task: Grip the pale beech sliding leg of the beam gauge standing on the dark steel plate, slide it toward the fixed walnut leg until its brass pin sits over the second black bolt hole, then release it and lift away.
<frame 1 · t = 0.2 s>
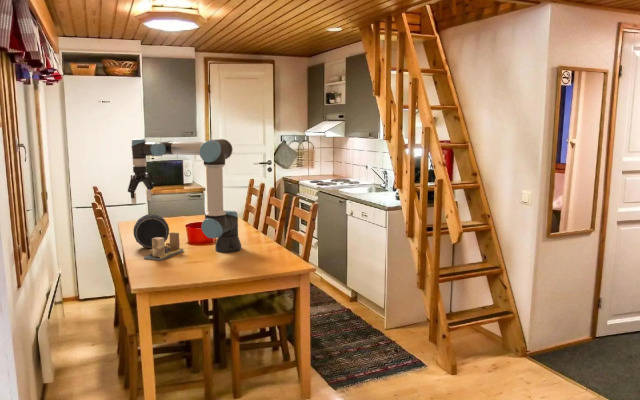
hand: (141, 202, 295), 28 cm above the table, tool pointing down, fingers open, 13 cm apart
sliding leg: (156, 246, 277), point 6 cm above the table, slide at 6.5 cm
gauge: (163, 255, 284), on the table
dark piece: (152, 247, 301), on the table
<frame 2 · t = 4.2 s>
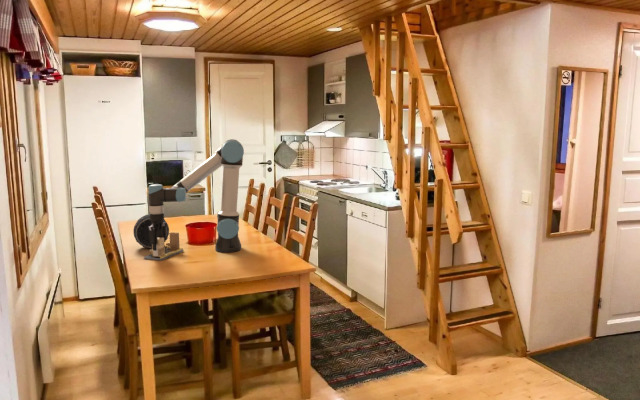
hand: (158, 254, 277), 2 cm above the table, tool pointing down, fingers closed on sliding leg, 4 cm apart
sliding leg: (156, 246, 277), point 6 cm above the table, slide at 6.5 cm, touching gripper
everything else where it was.
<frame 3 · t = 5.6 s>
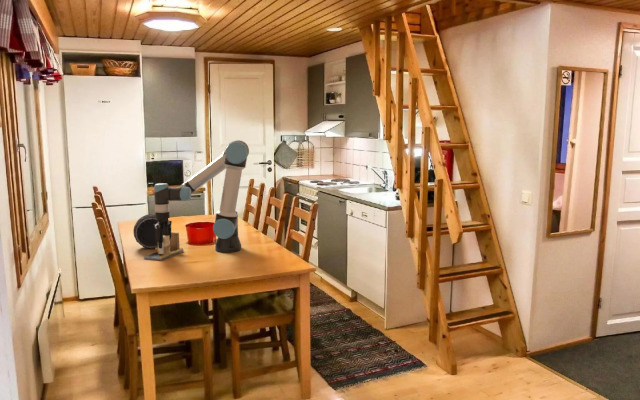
hand: (164, 252, 282), 2 cm above the table, tool pointing down, fingers closed on sliding leg, 4 cm apart
sliding leg: (161, 244, 282), point 6 cm above the table, slide at 1.6 cm, touching gripper
everything else where it was.
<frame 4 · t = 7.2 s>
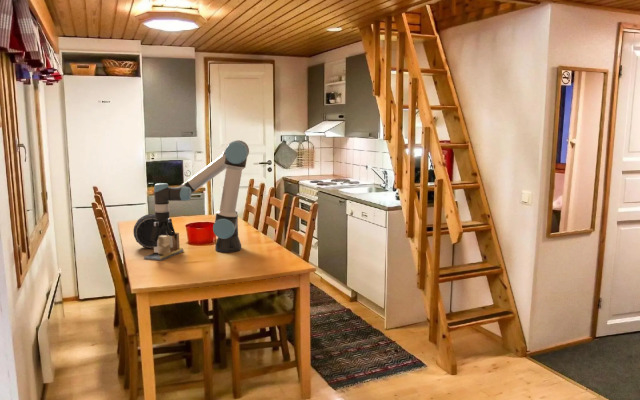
hand: (163, 249, 281), 4 cm above the table, tool pointing down, fingers open, 12 cm apart
sliding leg: (161, 244, 282), point 6 cm above the table, slide at 1.5 cm
everything else where it was.
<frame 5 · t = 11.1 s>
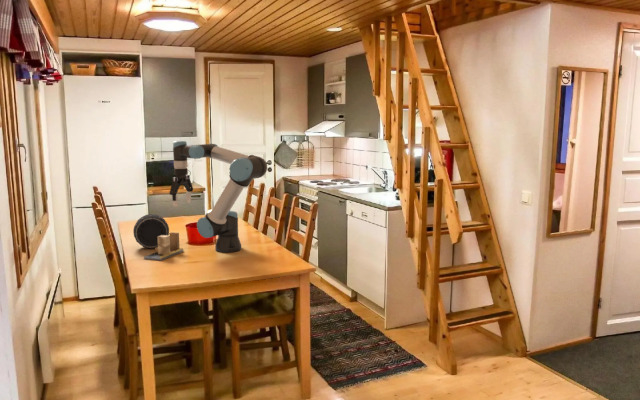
hand: (182, 204, 294), 27 cm above the table, tool pointing down, fingers open, 13 cm apart
nothing on the table moved.
at the end: sliding leg slide at 1.5 cm; the gripper is holding nothing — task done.
